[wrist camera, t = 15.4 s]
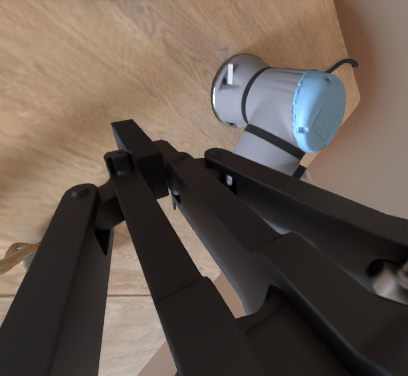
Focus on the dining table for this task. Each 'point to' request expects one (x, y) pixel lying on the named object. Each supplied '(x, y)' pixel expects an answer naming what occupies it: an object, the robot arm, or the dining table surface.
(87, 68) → the dining table surface
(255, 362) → the robot arm
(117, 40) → the dining table surface
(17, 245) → the oil lamp
